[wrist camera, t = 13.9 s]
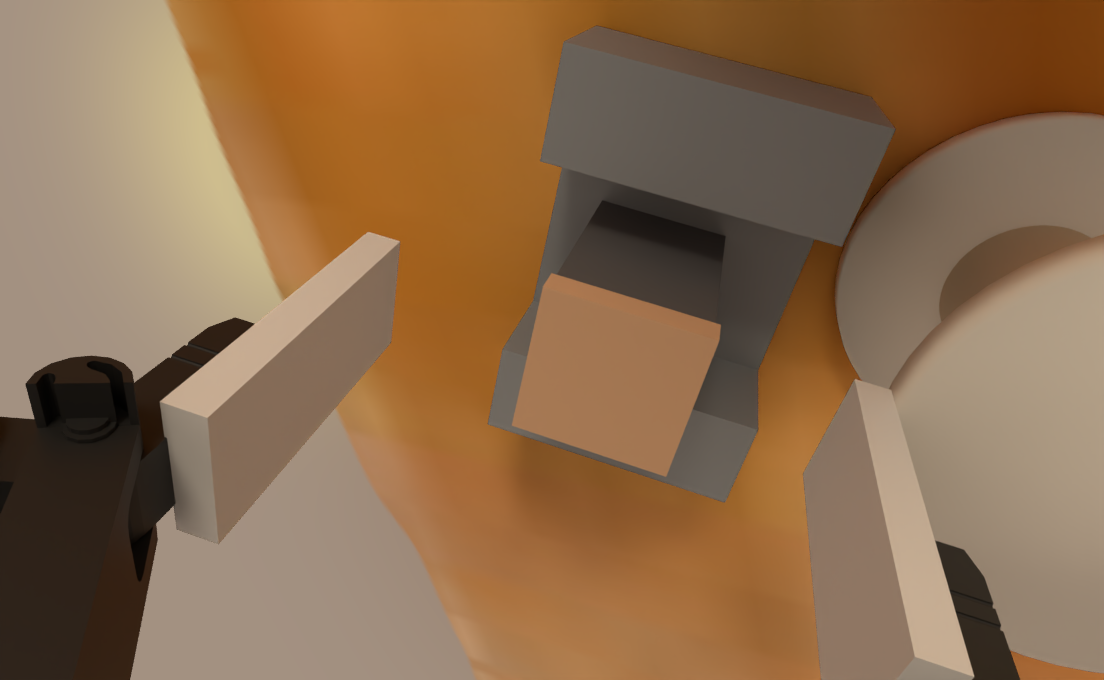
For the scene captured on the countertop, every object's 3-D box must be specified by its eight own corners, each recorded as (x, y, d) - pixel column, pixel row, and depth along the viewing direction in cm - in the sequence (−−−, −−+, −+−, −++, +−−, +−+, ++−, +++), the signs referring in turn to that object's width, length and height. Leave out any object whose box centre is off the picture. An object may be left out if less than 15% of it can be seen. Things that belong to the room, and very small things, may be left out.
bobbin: (925, 69, 19) (1045, 158, 11) (1321, 170, 18) (1777, 350, 10) (786, 370, 24) (800, 580, 16) (1088, 462, 23) (1263, 736, 15)
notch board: (596, 25, 21) (564, 41, 17) (871, 97, 20) (895, 129, 16) (522, 362, 27) (487, 424, 23) (729, 428, 26) (724, 502, 22)
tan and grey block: (599, 196, 22) (542, 286, 16) (729, 234, 22) (719, 340, 16) (571, 309, 25) (511, 425, 19) (688, 346, 24) (666, 476, 18)
